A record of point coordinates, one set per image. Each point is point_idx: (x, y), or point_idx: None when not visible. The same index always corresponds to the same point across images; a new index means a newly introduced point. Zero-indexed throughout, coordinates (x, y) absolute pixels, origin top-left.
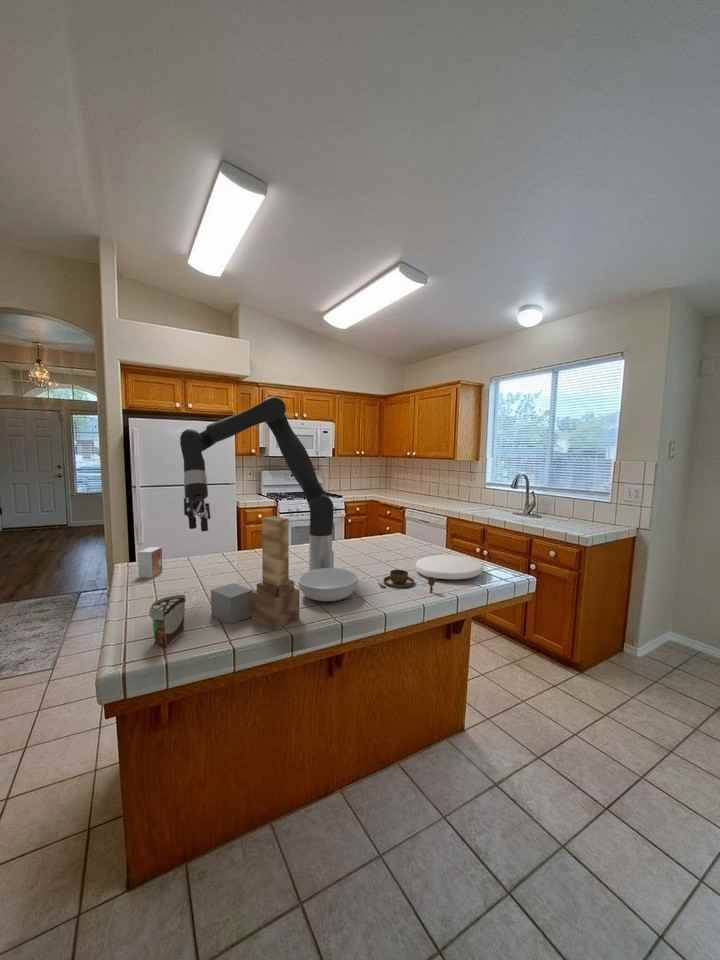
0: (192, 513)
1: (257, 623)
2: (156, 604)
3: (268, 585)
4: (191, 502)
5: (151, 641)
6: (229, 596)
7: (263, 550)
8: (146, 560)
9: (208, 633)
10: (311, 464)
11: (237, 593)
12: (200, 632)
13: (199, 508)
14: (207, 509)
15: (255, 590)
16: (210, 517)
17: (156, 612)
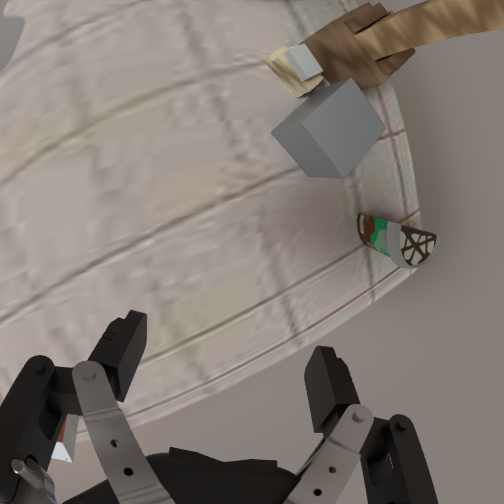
0: (396, 418)
1: None
2: (409, 264)
3: (402, 51)
4: (427, 495)
5: (377, 251)
6: (381, 130)
7: (451, 36)
8: (69, 434)
9: (371, 169)
10: None
11: (368, 113)
12: (367, 183)
13: (308, 475)
14: (24, 444)
15: (376, 74)
16: (34, 361)
17: (434, 247)
